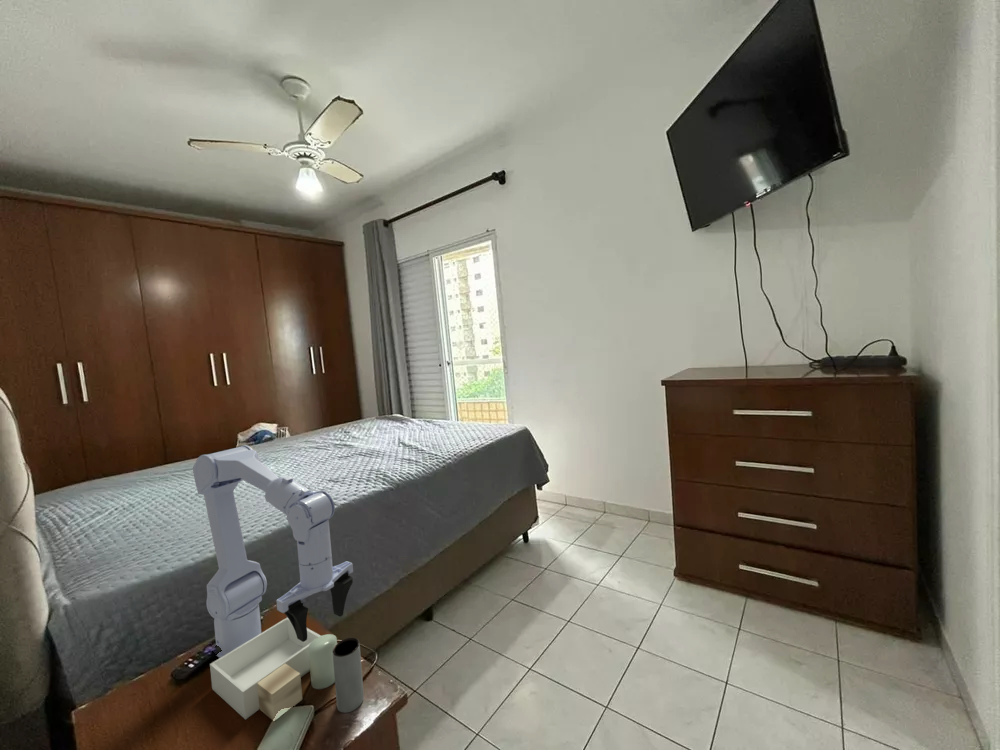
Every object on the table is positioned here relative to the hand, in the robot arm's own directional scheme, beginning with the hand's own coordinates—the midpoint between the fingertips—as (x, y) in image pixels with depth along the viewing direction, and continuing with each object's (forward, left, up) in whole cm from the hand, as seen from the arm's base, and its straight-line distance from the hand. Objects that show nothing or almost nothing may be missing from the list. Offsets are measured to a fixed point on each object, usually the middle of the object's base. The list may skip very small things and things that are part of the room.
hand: (321, 626), depth 75 cm
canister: (0, 0, -10) cm, 10 cm away
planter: (+9, -1, -11) cm, 14 cm away
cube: (-2, -8, -10) cm, 13 cm away
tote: (-11, -5, -10) cm, 16 cm away
